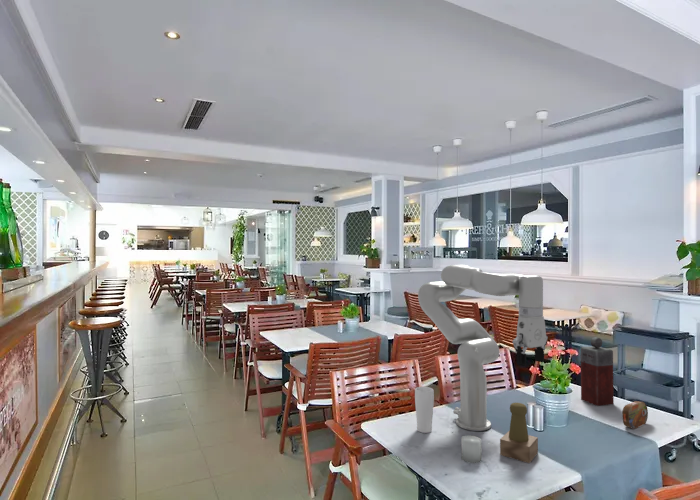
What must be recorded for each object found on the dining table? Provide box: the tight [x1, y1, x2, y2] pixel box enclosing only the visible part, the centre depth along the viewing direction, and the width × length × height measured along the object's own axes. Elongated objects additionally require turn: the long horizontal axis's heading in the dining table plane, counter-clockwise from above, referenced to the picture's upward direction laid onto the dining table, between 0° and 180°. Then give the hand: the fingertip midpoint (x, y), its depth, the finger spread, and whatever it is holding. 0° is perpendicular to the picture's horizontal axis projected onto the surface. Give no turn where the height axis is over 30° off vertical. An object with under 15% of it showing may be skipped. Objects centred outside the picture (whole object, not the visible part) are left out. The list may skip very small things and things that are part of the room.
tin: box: [621, 400, 649, 430], centre depth 162 cm, size 15×3×8 cm, turn 123°
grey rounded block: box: [460, 435, 482, 464], centre depth 135 cm, size 6×6×6 cm
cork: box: [508, 402, 529, 442], centre depth 138 cm, size 6×6×11 cm
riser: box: [499, 430, 539, 464], centre depth 138 cm, size 9×9×5 cm
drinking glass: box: [414, 386, 435, 434], centre depth 157 cm, size 7×7×15 cm
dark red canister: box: [580, 336, 615, 407], centre depth 190 cm, size 9×11×28 cm
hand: (530, 363), depth 144 cm, fingers open, 9 cm apart
